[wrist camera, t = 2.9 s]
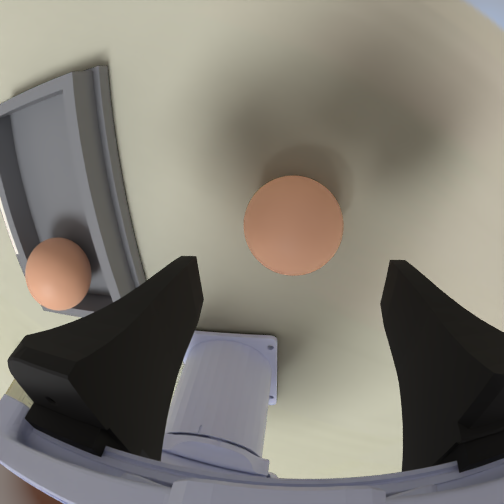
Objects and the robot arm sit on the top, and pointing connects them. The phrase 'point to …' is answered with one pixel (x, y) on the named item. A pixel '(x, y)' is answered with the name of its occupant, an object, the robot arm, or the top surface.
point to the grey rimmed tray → (69, 181)
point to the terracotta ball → (293, 225)
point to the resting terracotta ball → (58, 274)
